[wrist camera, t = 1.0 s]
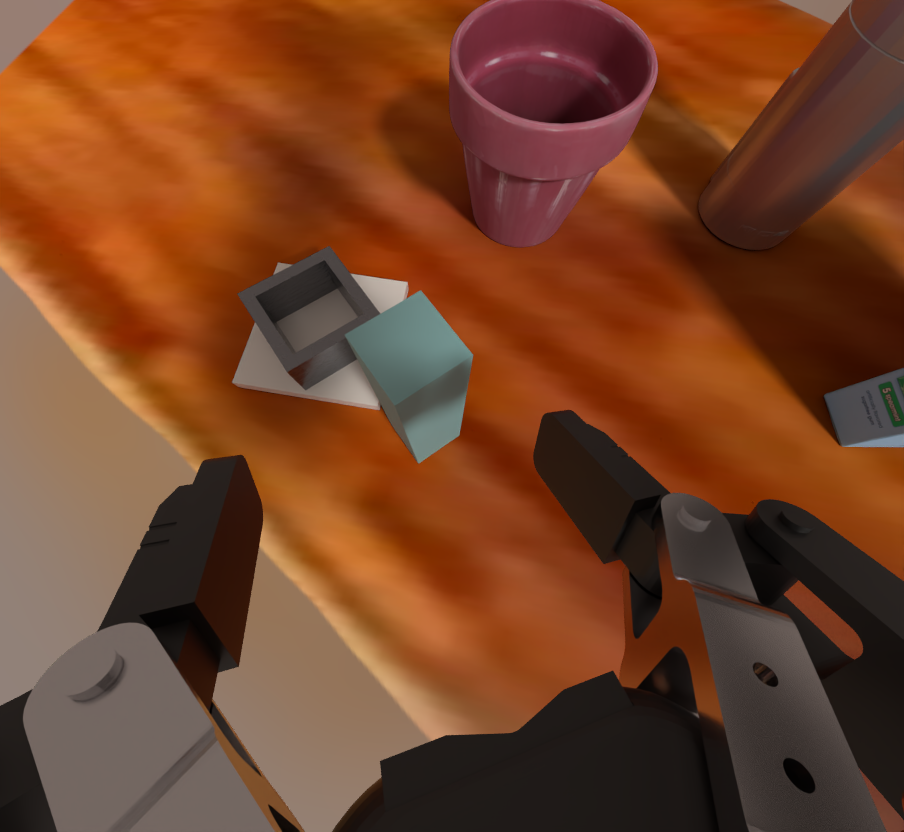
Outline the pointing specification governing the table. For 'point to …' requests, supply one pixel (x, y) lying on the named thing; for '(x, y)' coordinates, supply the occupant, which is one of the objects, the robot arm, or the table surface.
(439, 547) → the table surface
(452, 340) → the teal peg
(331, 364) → the metal collar
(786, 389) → the table surface
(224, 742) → the robot arm
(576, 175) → the plant pot
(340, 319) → the base board
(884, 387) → the light blue cardboard box
